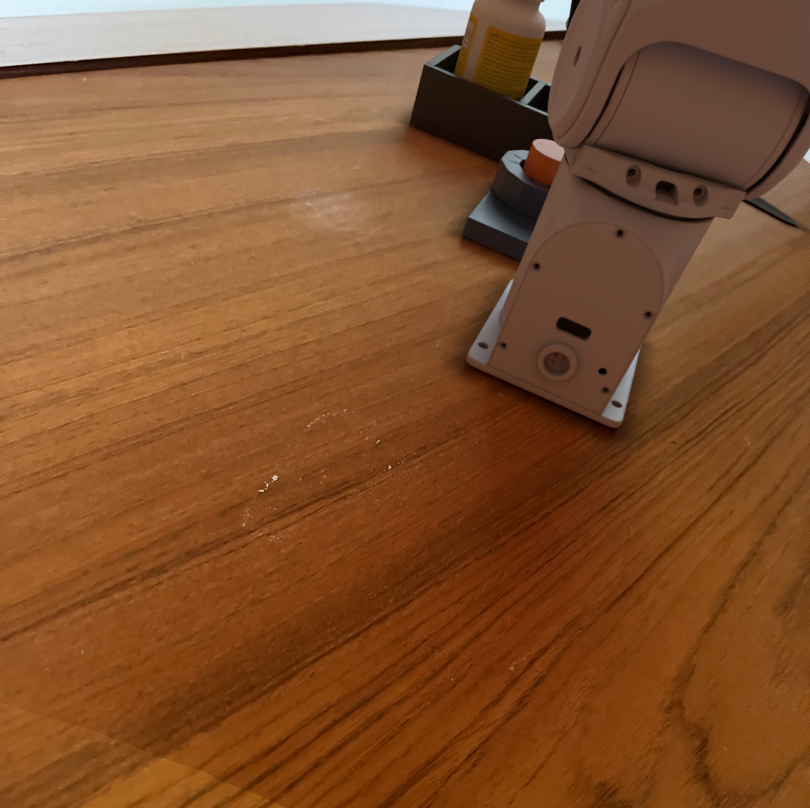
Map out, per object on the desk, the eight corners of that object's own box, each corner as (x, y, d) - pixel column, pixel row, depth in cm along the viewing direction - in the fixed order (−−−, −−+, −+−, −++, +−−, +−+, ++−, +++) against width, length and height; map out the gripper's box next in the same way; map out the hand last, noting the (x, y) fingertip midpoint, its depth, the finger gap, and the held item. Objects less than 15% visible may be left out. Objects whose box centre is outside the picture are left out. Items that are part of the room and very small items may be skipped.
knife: (798, 230, 62) (801, 219, 64) (802, 225, 62) (805, 214, 64) (629, 151, 64) (637, 142, 66) (632, 145, 64) (639, 137, 66)
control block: (583, 288, 45) (606, 241, 42) (460, 235, 45) (476, 186, 43) (607, 232, 51) (627, 188, 49) (499, 186, 52) (515, 141, 49)
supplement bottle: (524, 135, 58) (578, -15, 51) (477, 138, 54) (527, -21, 47) (477, 103, 60) (522, -45, 53) (429, 105, 57) (470, -53, 49)
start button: (564, 197, 46) (576, 168, 45) (517, 176, 46) (527, 147, 45) (573, 181, 48) (585, 153, 47) (528, 161, 49) (538, 133, 47)
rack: (594, 203, 54) (620, 146, 51) (408, 124, 55) (423, 64, 52) (609, 171, 59) (633, 118, 57) (440, 99, 60) (455, 44, 57)
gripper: (648, -267, 39) (546, 31, 48) (608, -307, 29) (489, 79, 38) (776, -217, 38) (647, 73, 48) (781, -241, 28) (616, 132, 38)
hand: (584, 79), depth 43 cm, fingers open, 6 cm apart
